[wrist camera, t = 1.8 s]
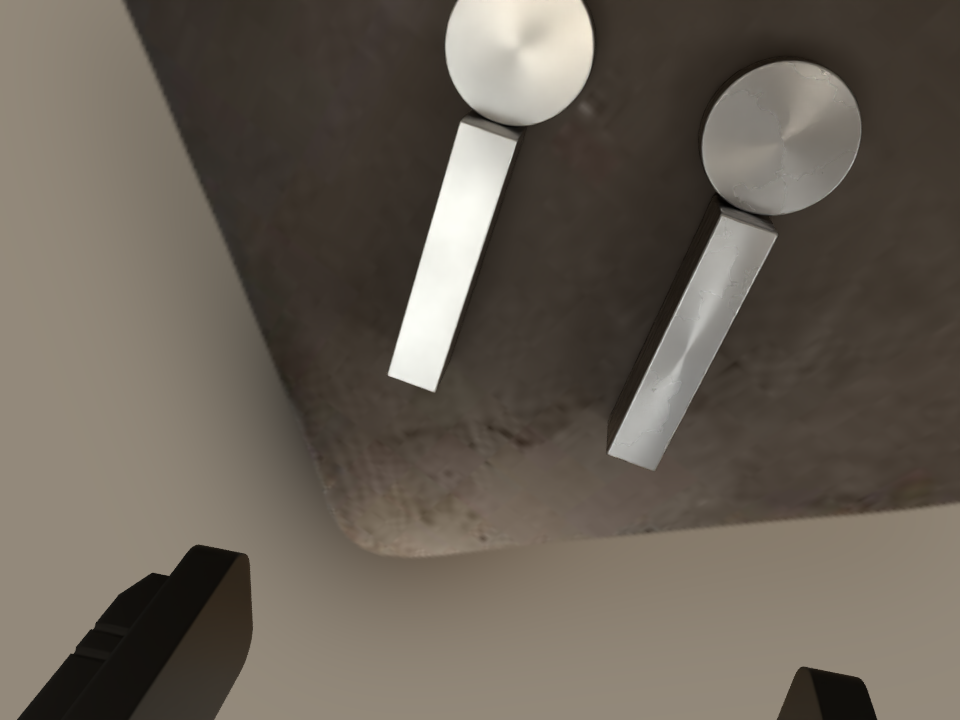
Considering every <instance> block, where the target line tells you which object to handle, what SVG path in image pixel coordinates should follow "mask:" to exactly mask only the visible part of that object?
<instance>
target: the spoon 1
mask: <svg viewBox="0 0 960 720" xmlns="http://www.w3.org/2000/svg"><path fill="white" fill-rule="evenodd" d="M595 53H596V30H595V25H594V20H593V17H592V14H591V11H590V8H589V6H588V4H587V2H586V0H457V1H456V2H455V4H454V6H453V8H452V10H451V12H450V15H449V18H448V21H447V25H446V30H445V38H444V55H445V61H446V66H447V69H448V73H449V76H450V78H451V81H452V83H453V85H454V87H455V88H456V90H457V92H458V93H459V95H460V96H461V97H462V99H463V100H464V101H465V102H466V103H467V104H468V105H469V106H470V107H471V108H472V110H471V111H470V112H469V113H468V114H467V115H466V116H464V117H463V118H462V119H461V120H460V121H459V124H458V127H457V131H456V134H455V138H454V141H453V145H452V148H451V152H450V155H449V159H448V162H447V166H446V169H445V173H444V176H443V180H442V183H441V187H440V190H439V194H438V197H437V201H436V204H435V208H434V211H433V215H432V218H431V222H430V225H429V228H428V232H427V235H426V239H425V242H424V246H423V249H422V253H421V256H420V260H419V263H418V267H417V270H416V274H415V277H414V281H413V284H412V288H411V291H410V295H409V298H408V302H407V305H406V309H405V312H404V316H403V319H402V323H401V326H400V330H399V333H398V337H397V340H396V344H395V347H394V351H393V354H392V358H391V361H390V365H389V368H388V372H387V376H389V377H392V378H395V379H397V380H400V381H403V382H406V383H409V384H411V385H414V386H417V387H420V388H422V389H425V390H428V391H431V392H433V393H435V392H436V391H437V389H438V386H439V384H440V382H441V380H442V378H443V376H444V374H445V371H446V369H447V367H448V365H449V362H450V359H451V356H452V353H453V350H454V347H455V344H456V341H457V338H458V335H459V332H460V329H461V326H462V323H463V320H464V316H465V313H466V310H467V307H468V304H469V301H470V298H471V295H472V292H473V289H474V286H475V283H476V280H477V277H478V274H479V271H480V268H481V265H482V262H483V259H484V256H485V253H486V250H487V247H488V244H489V241H490V238H491V235H492V232H493V229H494V226H495V222H496V219H497V216H498V213H499V210H500V207H501V204H502V201H503V198H504V195H505V192H506V189H507V186H508V183H509V180H510V177H511V174H512V171H513V168H514V165H515V162H516V159H517V156H518V153H519V150H520V147H521V144H522V141H523V138H524V135H525V131H526V127H524V126H531V125H535V124H539V123H543V122H545V121H547V120H550V119H552V118H553V117H555V116H557V115H559V114H560V113H561V112H563V111H564V110H565V109H566V108H568V107H569V106H570V105H571V104H572V103H573V102H574V101H575V99H576V98H577V97H578V95H579V94H580V93H581V91H582V89H583V88H584V86H585V84H586V82H587V80H588V77H589V75H590V73H591V70H592V67H593V63H594V59H595Z"/></svg>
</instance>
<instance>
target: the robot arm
mask: <svg viewBox="0 0 960 720" xmlns="http://www.w3.org/2000/svg"><path fill="white" fill-rule="evenodd" d="M252 631H253V621H252V602H251V582H250V563H249V558H248V556H247V555H246V554H244V553H239V552H234V551H229V550H224V549H219V548H214V547H209V546H204V545H195V546H193V547H192V548H191V549H190V550H189V551H188V552H187V553H186V555H185V556H184V557H183V559H182V560H181V562H180V563H179V564H178V566H177V567H176V568H175V569H174V571H173V572H172V573H171V575H170V576H166V575H161V574H156V573H151V574H150V575H148V576H147V577H145V578H143V579H142V580H141V581H139V582H137V583H136V584H134V585H133V586H131V587H130V588H128V589H127V590H125V591H124V592H122V593H121V594H119V595H118V597H117V598H116V599H115V600H114V602H113V603H112V604H111V605H110V606H109V607H108V609H107V610H106V611H105V612H104V614H103V615H102V616H101V618H100V619H99V620H98V621H97V622H96V624H95V628H94V629H93V630H92V629H91V630H90V631H89V632H88V633H87V635H86V636H85V637H84V638H83V639H82V641H81V642H80V643H79V644H78V645H77V647H76V651H75V653H74V654H70V655H69V657H68V658H67V659H66V660H65V661H64V663H63V664H62V665H61V666H60V668H59V669H58V670H57V671H56V673H55V674H54V675H53V676H52V677H51V679H50V680H49V681H48V682H47V684H46V685H45V686H44V687H43V688H42V690H41V691H40V692H39V693H38V695H37V696H36V697H35V698H34V700H33V701H32V702H31V703H30V704H29V706H28V707H27V708H26V709H25V711H24V712H23V713H22V714H21V715H20V717H19V718H18V719H17V720H214V719H215V717H216V715H217V713H218V712H219V710H220V708H221V706H222V704H223V703H224V701H225V699H226V697H227V695H228V694H229V692H230V690H231V688H232V686H233V684H234V683H235V681H236V679H237V677H238V675H239V674H240V672H241V670H242V668H243V665H244V663H245V661H246V658H247V655H248V652H249V648H250V644H251V639H252ZM777 720H877V718H876V714H875V711H874V708H873V705H872V703H871V699H870V697H869V694H868V690H867V688H866V686H865V684H864V682H863V681H862V680H861V679H860V678H858V677H854V676H849V675H844V674H839V673H833V672H828V671H823V670H818V669H813V668H808V667H801V668H800V669H798V671H797V672H796V674H795V676H794V679H793V681H792V684H791V686H790V689H789V691H788V694H787V696H786V699H785V701H784V704H783V706H782V708H781V711H780V713H779V717H778V718H777Z"/></svg>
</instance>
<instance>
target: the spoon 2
mask: <svg viewBox="0 0 960 720" xmlns="http://www.w3.org/2000/svg"><path fill="white" fill-rule="evenodd" d="M861 137H862V118H861V113H860V108H859V105H858V103H857V100H856V98H855V96H854V94H853V92H852V91H851V89H850V88H849V86H848V85H847V84H846V83H845V82H844V80H843V79H841V78H840V77H839V76H838V75H837V74H836V73H834V72H832V71H831V70H829V69H828V68H826V67H824V66H822V65H820V64H818V63H815V62H813V61H810V60H807V59H803V58H797V57H776V58H769V59H766V60H762V61H759V62H756V63H754V64H751V65H749V66H747V67H745V68H744V69H742V70H740V71H739V72H737V73H736V74H734V75H733V76H732V77H730V78H729V79H728V80H727V81H726V82H725V83H724V84H723V85H722V86H721V87H720V88H719V90H718V91H717V92H716V93H715V95H714V96H713V98H712V99H711V100H710V102H709V104H708V106H707V108H706V110H705V112H704V115H703V118H702V121H701V125H700V129H699V138H698V144H699V154H700V159H701V163H702V166H703V169H704V171H705V174H706V176H707V178H708V180H709V182H710V184H711V185H712V187H713V188H714V190H715V191H716V192H717V193H718V194H719V195H720V196H721V197H720V196H717V195H715V196H714V197H713V198H712V200H711V202H710V204H709V206H708V209H707V211H706V213H705V215H704V217H703V219H702V221H701V224H700V226H699V228H698V230H697V232H696V234H695V236H694V239H693V241H692V243H691V245H690V247H689V249H688V251H687V254H686V256H685V258H684V260H683V262H682V264H681V266H680V269H679V271H678V273H677V275H676V277H675V279H674V281H673V284H672V286H671V288H670V290H669V292H668V294H667V296H666V298H665V301H664V303H663V305H662V307H661V309H660V311H659V313H658V316H657V318H656V320H655V322H654V324H653V326H652V328H651V331H650V333H649V335H648V337H647V339H646V341H645V343H644V346H643V348H642V350H641V352H640V354H639V356H638V358H637V361H636V363H635V365H634V367H633V369H632V371H631V373H630V376H629V378H628V380H627V382H626V384H625V386H624V388H623V390H622V393H621V395H620V397H619V399H618V401H617V403H616V405H615V408H614V410H613V412H612V414H611V416H610V418H609V420H608V429H607V448H606V454H607V455H609V456H612V457H614V458H617V459H620V460H623V461H625V462H628V463H631V464H634V465H636V466H639V467H642V468H645V469H647V470H650V471H655V470H656V469H657V467H658V465H659V463H660V461H661V459H662V457H663V455H664V453H665V452H666V450H667V448H668V446H669V444H670V442H671V440H672V438H673V436H674V434H675V432H676V431H677V429H678V427H679V425H680V423H681V421H682V419H683V417H684V415H685V413H686V411H687V409H688V408H689V406H690V404H691V402H692V400H693V398H694V396H695V394H696V392H697V390H698V388H699V387H700V385H701V383H702V381H703V379H704V377H705V375H706V373H707V371H708V369H709V367H710V366H711V364H712V362H713V360H714V358H715V356H716V354H717V352H718V350H719V348H720V346H721V344H722V343H723V341H724V339H725V337H726V335H727V333H728V331H729V329H730V327H731V325H732V323H733V322H734V320H735V318H736V316H737V314H738V312H739V310H740V308H741V306H742V304H743V302H744V301H745V299H746V297H747V295H748V293H749V291H750V289H751V287H752V285H753V283H754V281H755V279H756V278H757V276H758V274H759V272H760V270H761V268H762V266H763V264H764V262H765V260H766V258H767V257H768V255H769V253H770V251H771V249H772V247H773V245H774V243H775V241H776V239H777V237H778V232H777V230H776V228H775V227H774V225H773V223H772V221H771V220H770V218H769V216H776V215H785V214H790V213H794V212H797V211H800V210H803V209H805V208H807V207H810V206H812V205H814V204H815V203H817V202H819V201H820V200H822V199H823V198H825V197H826V196H827V195H828V194H830V193H831V192H832V191H833V190H834V189H835V188H836V187H837V186H838V185H839V184H840V183H841V182H842V180H843V179H844V178H845V177H846V175H847V174H848V172H849V170H850V169H851V167H852V165H853V163H854V161H855V159H856V157H857V154H858V151H859V148H860V143H861Z"/></svg>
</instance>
